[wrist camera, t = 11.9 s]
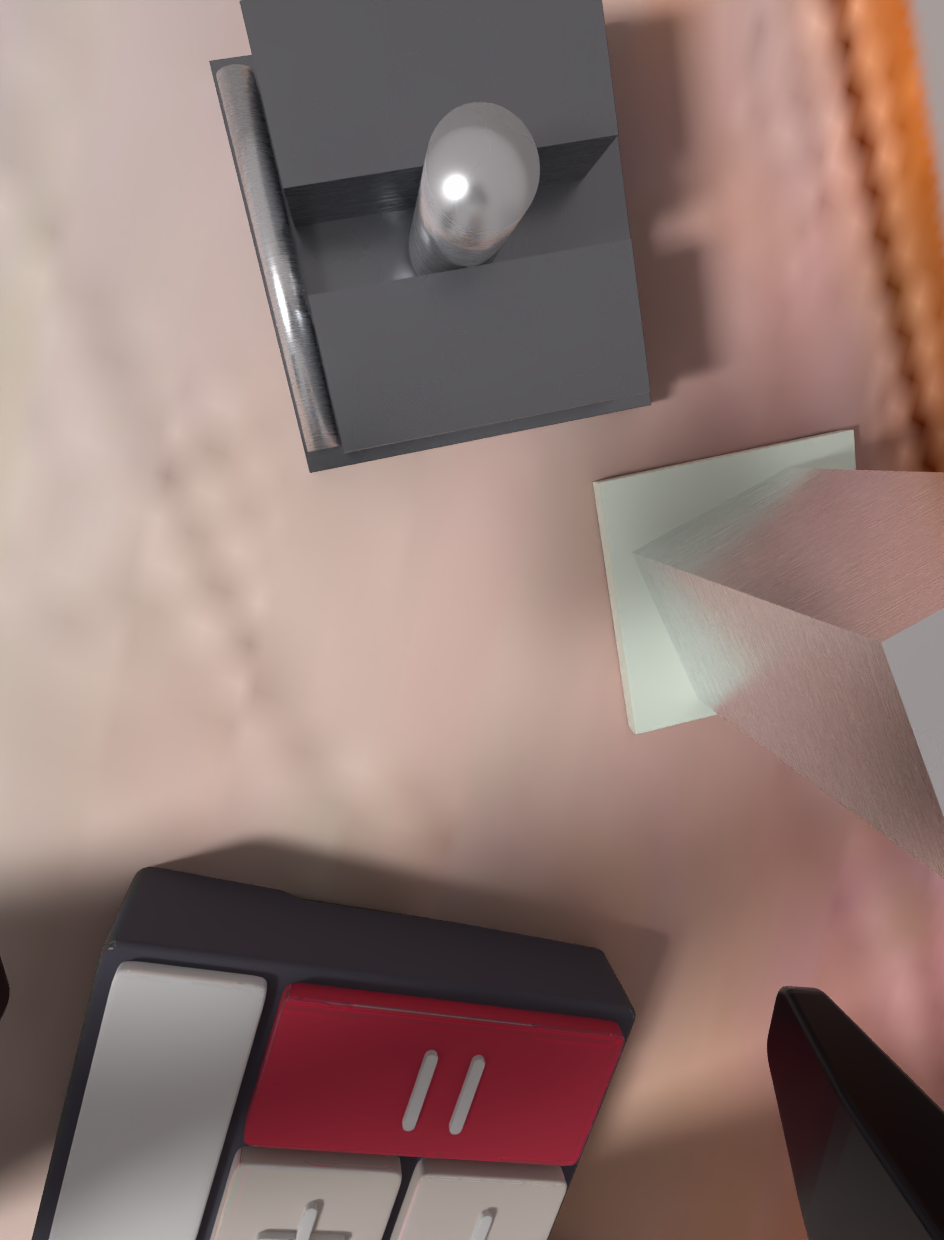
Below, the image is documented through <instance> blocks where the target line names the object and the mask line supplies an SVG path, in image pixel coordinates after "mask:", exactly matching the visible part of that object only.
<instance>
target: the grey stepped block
mask: <svg viewBox="0 0 944 1240" xmlns="http://www.w3.org/2000/svg"><path fill="white" fill-rule="evenodd" d="M632 554H633V557H634V559H635V561H636V563H637V565H638V568H639V570H640V572H641V574H642V577H643V579H644V581H645V583H646V585H647V588H648V590H649V592H650V594H651V596H652V599H653V601H654V603H655V605H656V608H657V610H658V612H659V614H660V616H661V619H662V621H663V623H664V625H665V628H666V630H667V632H668V634H669V636H670V639H671V641H672V643H673V645H674V647H675V650H676V652H677V654H678V656H679V659H680V661H681V663H682V665H683V667H684V670H685V672H686V674H687V676H688V678H689V681H690V683H691V685H692V687H693V690H694V692H695V694H696V696H697V698H698V700H700V701H701V702H702V703H704V704H705V705H706V706H708V707H709V708H711V709H712V710H713V711H715V712H716V713H717V714H719V715H720V716H721V717H723V718H724V719H726V720H727V721H728V722H730V723H731V724H732V725H734V726H735V727H737V728H738V729H739V730H741V731H742V732H743V733H745V734H746V735H747V736H749V737H750V738H752V739H753V740H754V741H756V742H757V743H758V744H760V745H761V746H763V747H764V748H765V749H767V750H768V751H769V752H771V753H772V754H773V755H775V756H776V757H778V758H779V759H780V760H782V761H783V762H784V763H786V764H787V765H789V766H790V767H791V768H793V769H794V770H795V771H797V772H798V773H800V774H801V775H802V776H804V777H805V778H806V779H808V780H809V781H810V782H812V783H813V784H815V785H816V786H817V787H819V788H820V789H821V790H823V791H824V792H826V793H827V794H828V795H830V796H831V797H832V798H834V799H835V800H836V801H838V802H839V803H841V804H842V805H843V806H845V807H846V808H847V809H849V810H850V811H852V812H853V813H854V814H856V815H857V816H858V817H860V818H861V819H862V820H864V821H865V822H867V823H868V824H869V825H871V826H872V827H873V828H875V829H876V830H878V831H879V832H880V833H882V834H883V835H884V836H886V837H887V838H888V839H890V840H891V841H893V842H894V843H895V844H897V845H898V846H899V847H901V848H902V849H904V850H905V851H906V852H908V853H909V854H910V855H912V856H913V857H914V858H916V859H917V860H919V861H920V862H921V863H923V864H924V865H925V866H927V867H928V868H930V869H931V870H932V871H934V872H935V873H936V874H938V875H939V876H941V877H942V878H943V879H944V472H912V471H878V470H844V469H810V468H786V469H784V470H782V471H780V472H778V473H777V474H775V475H773V476H771V477H769V478H767V479H766V480H764V481H762V482H760V483H758V484H756V485H754V486H753V487H751V488H749V489H747V490H745V491H743V492H742V493H740V494H738V495H736V496H734V497H732V498H731V499H729V500H727V501H725V502H723V503H721V504H719V505H718V506H716V507H714V508H712V509H710V510H708V511H707V512H705V513H703V514H701V515H699V516H697V517H696V518H694V519H692V520H690V521H688V522H686V523H684V524H683V525H681V526H679V527H677V528H675V529H673V530H672V531H670V532H668V533H666V534H664V535H662V536H661V537H659V538H657V539H655V540H653V541H651V542H649V543H648V544H646V545H644V546H642V547H640V548H638V549H637V550H635V551H633V552H632Z"/></svg>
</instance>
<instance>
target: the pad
mask: <svg viewBox="0 0 944 1240" xmlns="http://www.w3.org/2000/svg"><path fill="white" fill-rule="evenodd" d="M786 468H810V469H844V470H856V462H855V444H854V430H839V431H834V432H830V433H825V434H820V435H815V436H810V437H806V438H801V439H796V440H791V441H786V442H782V443H777V444H772V445H767V446H762V447H758V448H753V449H748V450H743V451H739V452H734V453H729V454H724V455H719V456H715V457H710V458H705V459H700V460H695V461H691V462H686V463H681V464H676V465H671V466H667V467H662V468H657V469H652V470H648V471H643V472H638V473H633V474H628V475H624V476H619V477H614V478H609V479H604V480H600V481H595V482H593V488H594V495H595V501H596V508H597V515H598V522H599V528H600V535H601V542H602V549H603V556H604V562H605V569H606V576H607V583H608V590H609V596H610V603H611V610H612V617H613V623H614V630H615V637H616V644H617V651H618V657H619V664H620V671H621V678H622V685H623V691H624V698H625V705H626V712H627V719H628V725H629V728H630V729H631V730H632V731H633V732H634V733H635V734H640V733H644V732H648V731H652V730H656V729H660V728H664V727H668V726H673V725H677V724H681V723H685V722H689V721H693V720H697V719H701V718H705V717H709V716H713V715H717V713H716V712H715V711H713V710H712V709H711V708H709V707H708V706H706V705H705V704H704V703H702V702H701V701H700V700H698V698H697V696H696V694H695V692H694V690H693V687H692V685H691V683H690V681H689V678H688V676H687V674H686V672H685V670H684V667H683V665H682V663H681V661H680V659H679V656H678V654H677V652H676V650H675V647H674V645H673V643H672V641H671V639H670V636H669V634H668V632H667V630H666V628H665V625H664V623H663V621H662V619H661V616H660V614H659V612H658V610H657V608H656V605H655V603H654V601H653V599H652V596H651V594H650V592H649V590H648V588H647V585H646V583H645V581H644V579H643V577H642V574H641V572H640V570H639V568H638V565H637V563H636V561H635V559H634V557H633V554H632V552H633V551H635V550H637V549H638V548H640V547H642V546H644V545H646V544H648V543H649V542H651V541H653V540H655V539H657V538H659V537H661V536H662V535H664V534H666V533H668V532H670V531H672V530H673V529H675V528H677V527H679V526H681V525H683V524H684V523H686V522H688V521H690V520H692V519H694V518H696V517H697V516H699V515H701V514H703V513H705V512H707V511H708V510H710V509H712V508H714V507H716V506H718V505H719V504H721V503H723V502H725V501H727V500H729V499H731V498H732V497H734V496H736V495H738V494H740V493H742V492H743V491H745V490H747V489H749V488H751V487H753V486H754V485H756V484H758V483H760V482H762V481H764V480H766V479H767V478H769V477H771V476H773V475H775V474H777V473H778V472H780V471H782V470H784V469H786Z"/></svg>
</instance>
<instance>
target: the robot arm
mask: <svg viewBox="0 0 944 1240" xmlns="http://www.w3.org/2000/svg"><path fill="white" fill-rule="evenodd" d="M8 1000H9V984H8V980H7V977H6V974H5V970H4V967H3V964H2V960H1V957H0V1020H1V1018H2V1016H3V1014H4V1012H5V1009H6V1007H7V1004H8ZM767 1054H768V1062H769V1067H770V1072H771V1076H772V1081H773V1085H774V1090H775V1094H776V1099H777V1103H778V1108H779V1113H780V1117H781V1122H782V1126H783V1131H784V1135H785V1140H786V1145H787V1149H788V1154H789V1158H790V1163H791V1167H792V1172H793V1177H794V1181H795V1186H796V1190H797V1195H798V1199H799V1203H800V1208H801V1212H802V1216H803V1220H804V1224H805V1228H806V1231H807V1235H808V1238H809V1240H944V1111H943V1110H942V1109H941V1108H940V1107H939V1106H938V1105H937V1104H936V1103H935V1102H934V1101H933V1100H932V1099H931V1098H930V1097H929V1096H928V1095H927V1094H926V1093H925V1092H924V1091H923V1090H922V1089H921V1088H920V1087H919V1086H918V1085H917V1084H916V1083H915V1082H914V1081H913V1080H912V1079H911V1078H910V1077H909V1076H908V1075H907V1074H906V1073H905V1072H904V1071H903V1070H902V1069H901V1068H900V1067H899V1066H898V1065H897V1064H896V1063H895V1062H894V1061H893V1060H892V1059H891V1058H890V1057H889V1056H888V1055H887V1054H886V1053H885V1052H884V1051H883V1050H882V1049H881V1048H880V1047H879V1046H878V1045H877V1044H876V1043H875V1042H874V1041H872V1040H871V1039H870V1038H869V1037H868V1036H867V1035H866V1034H865V1033H864V1032H863V1031H862V1030H861V1029H860V1028H859V1027H858V1026H857V1025H856V1024H855V1023H854V1022H853V1021H852V1020H851V1019H850V1018H849V1017H848V1016H847V1015H846V1014H845V1013H844V1012H843V1011H842V1010H841V1009H840V1008H839V1007H838V1006H837V1005H836V1004H835V1003H834V1002H833V1001H832V1000H831V999H830V998H829V997H828V996H827V995H826V994H825V993H824V992H822V991H821V990H819V989H816V988H809V987H792V986H785V987H782V988H781V989H780V990H779V991H778V994H777V997H776V1001H775V1006H774V1011H773V1015H772V1020H771V1025H770V1029H769V1034H768V1039H767Z"/></svg>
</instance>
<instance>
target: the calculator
mask: <svg viewBox="0 0 944 1240" xmlns="http://www.w3.org/2000/svg"><path fill="white" fill-rule="evenodd" d="M634 1020H635V1011H634V1008H633V1006H632V1004H631V1003H630V1001H629V999H628V997H627V995H626V993H625V991H624V989H623V987H622V986H621V984H620V982H619V980H618V978H617V977H616V975H615V973H614V971H613V969H612V967H611V966H610V964H609V962H608V960H607V958H606V956H605V955H604V953H603V952H602V951H601V950H599V949H596V948H592V947H586V946H581V945H575V944H570V943H564V942H559V941H553V940H548V939H543V938H537V937H532V936H526V935H521V934H515V933H510V932H504V931H499V930H493V929H488V928H482V927H476V926H471V925H465V924H459V923H453V922H447V921H441V920H434V919H427V918H421V917H414V916H408V915H401V914H394V913H388V912H381V911H374V910H368V909H361V908H354V907H348V906H341V905H335V904H328V903H322V902H315V901H309V900H302V899H297V898H295V897H293V896H291V895H289V894H287V893H286V892H284V891H280V890H276V889H271V888H265V887H260V886H254V885H249V884H243V883H238V882H233V881H227V880H222V879H216V878H211V877H205V876H200V875H194V874H189V873H183V872H178V871H172V870H167V869H161V868H154V867H147V868H143V869H141V870H140V871H138V872H137V874H136V875H135V877H134V879H133V881H132V883H131V885H130V888H129V890H128V892H127V894H126V897H125V899H124V901H123V903H122V905H121V908H120V910H119V912H118V914H117V917H116V919H115V921H114V923H113V926H112V928H111V930H110V933H109V935H108V937H107V940H106V942H105V944H104V947H103V949H102V951H101V954H100V958H99V962H98V966H97V970H96V974H95V978H94V982H93V987H92V991H91V995H90V999H89V1003H88V1007H87V1012H86V1016H85V1020H84V1024H83V1028H82V1032H81V1037H80V1041H79V1045H78V1049H77V1053H76V1057H75V1062H74V1066H73V1070H72V1074H71V1078H70V1082H69V1086H68V1091H67V1095H66V1099H65V1103H64V1107H63V1111H62V1116H61V1120H60V1124H59V1128H58V1132H57V1136H56V1141H55V1145H54V1149H53V1153H52V1157H51V1161H50V1166H49V1170H48V1174H47V1178H46V1182H45V1186H44V1191H43V1195H42V1199H41V1203H40V1207H39V1211H38V1216H37V1220H36V1224H35V1228H34V1232H33V1236H32V1240H548V1238H549V1235H550V1233H551V1230H552V1228H553V1225H554V1223H555V1220H556V1217H557V1215H558V1212H559V1210H560V1207H561V1205H562V1202H563V1200H564V1197H565V1195H566V1192H567V1190H568V1187H569V1185H570V1182H571V1180H572V1177H573V1175H574V1172H575V1169H576V1167H577V1164H578V1162H579V1159H580V1157H581V1154H582V1152H583V1149H584V1147H585V1144H586V1142H587V1139H588V1137H589V1134H590V1132H591V1129H592V1127H593V1124H594V1121H595V1119H596V1116H597V1114H598V1111H599V1109H600V1106H601V1104H602V1101H603V1099H604V1096H605V1094H606V1091H607V1089H608V1086H609V1084H610V1081H611V1079H612V1076H613V1073H614V1071H615V1068H616V1066H617V1063H618V1061H619V1058H620V1056H621V1053H622V1051H623V1048H624V1046H625V1043H626V1041H627V1038H628V1036H629V1033H630V1031H631V1028H632V1025H633V1023H634Z"/></svg>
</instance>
